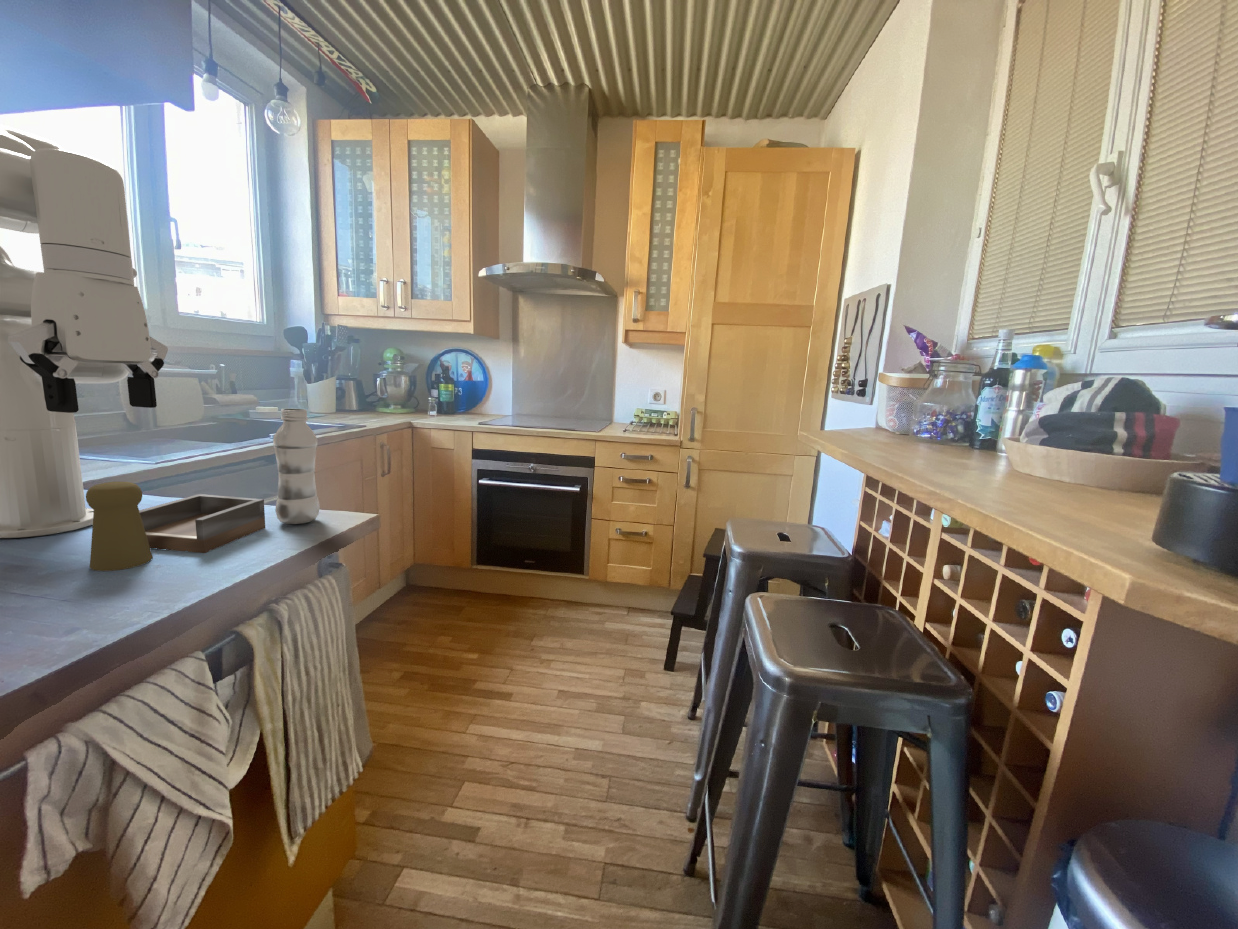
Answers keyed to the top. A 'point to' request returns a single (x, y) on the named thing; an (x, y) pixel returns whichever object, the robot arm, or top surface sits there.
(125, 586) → the top surface
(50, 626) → the top surface
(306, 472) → the plastic bottle
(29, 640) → the top surface
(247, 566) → the top surface
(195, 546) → the tray
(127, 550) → the cork
